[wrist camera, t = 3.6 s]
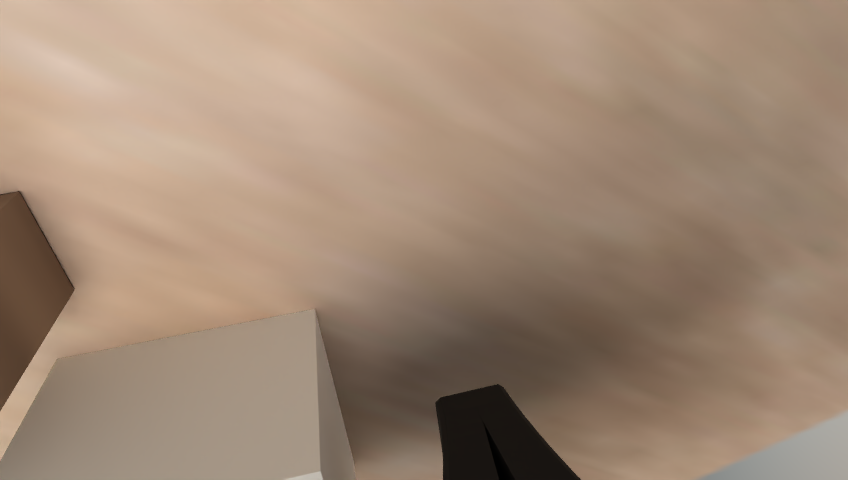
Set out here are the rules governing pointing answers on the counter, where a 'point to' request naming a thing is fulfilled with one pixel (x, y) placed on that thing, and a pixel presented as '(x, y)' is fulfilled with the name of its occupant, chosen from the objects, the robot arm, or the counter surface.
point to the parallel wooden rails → (25, 290)
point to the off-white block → (190, 410)
